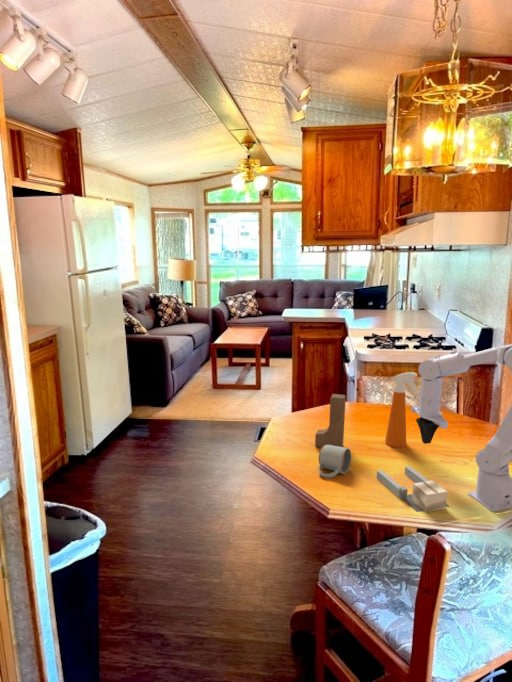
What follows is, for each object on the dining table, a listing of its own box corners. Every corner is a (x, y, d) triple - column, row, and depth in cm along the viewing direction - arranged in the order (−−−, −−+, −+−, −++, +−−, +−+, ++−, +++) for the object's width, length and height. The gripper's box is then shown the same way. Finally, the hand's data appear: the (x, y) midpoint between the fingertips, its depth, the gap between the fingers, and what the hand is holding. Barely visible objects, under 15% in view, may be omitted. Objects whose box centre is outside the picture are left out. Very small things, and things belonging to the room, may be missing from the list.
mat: (449, 506, 126) (449, 506, 126) (416, 512, 123) (416, 511, 123) (430, 491, 134) (430, 491, 134) (399, 496, 131) (399, 496, 131)
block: (445, 509, 125) (447, 490, 124) (425, 512, 123) (427, 494, 122) (431, 497, 130) (432, 480, 129) (411, 500, 128) (413, 483, 127)
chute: (436, 495, 132) (437, 484, 131) (401, 500, 129) (402, 489, 128) (408, 473, 144) (409, 463, 143) (376, 478, 141) (377, 468, 140)
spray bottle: (410, 453, 158) (416, 376, 153) (381, 443, 166) (386, 369, 160) (420, 446, 163) (426, 372, 158) (391, 437, 171) (396, 366, 165)
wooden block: (314, 446, 163) (316, 395, 159) (317, 441, 167) (319, 392, 163) (341, 450, 160) (344, 398, 156) (343, 444, 164) (345, 394, 161)
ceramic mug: (327, 461, 152) (327, 438, 150) (351, 468, 147) (352, 445, 146) (311, 475, 143) (312, 451, 141) (337, 482, 139) (338, 458, 137)
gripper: (458, 405, 134) (454, 451, 137) (426, 390, 148) (423, 432, 150) (437, 407, 132) (433, 453, 135) (406, 392, 146) (403, 434, 148)
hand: (426, 442), depth 142 cm, fingers closed
